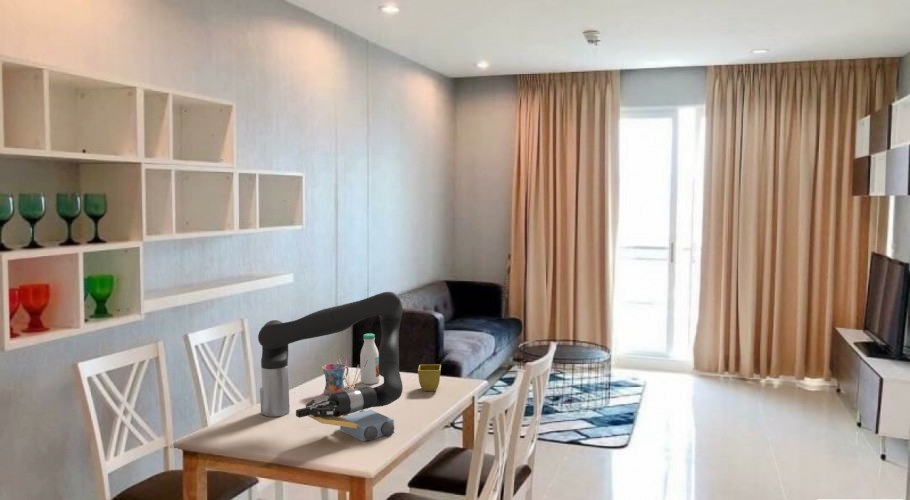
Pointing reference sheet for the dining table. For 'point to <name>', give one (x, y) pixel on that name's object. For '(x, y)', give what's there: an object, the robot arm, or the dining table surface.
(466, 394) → the dining table surface
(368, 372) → the milk bottle
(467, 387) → the dining table surface
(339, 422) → the yellow plate
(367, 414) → the flatbed
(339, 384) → the mug
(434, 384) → the flower pot
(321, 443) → the dining table surface
